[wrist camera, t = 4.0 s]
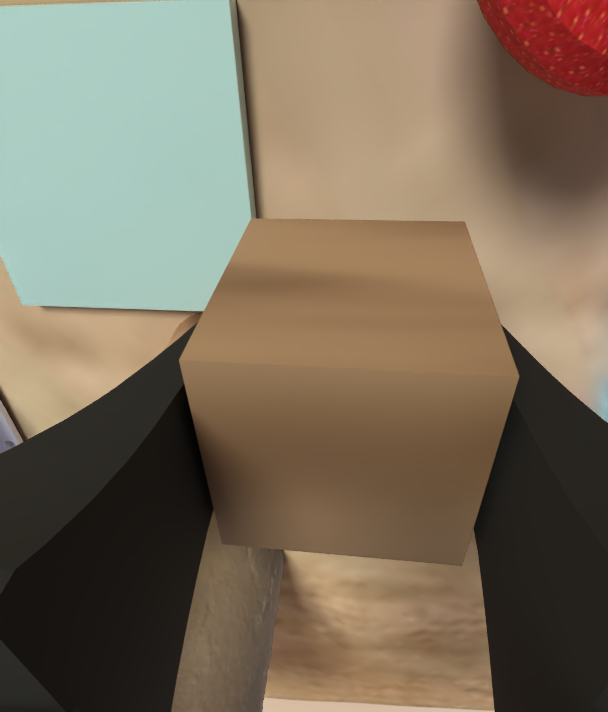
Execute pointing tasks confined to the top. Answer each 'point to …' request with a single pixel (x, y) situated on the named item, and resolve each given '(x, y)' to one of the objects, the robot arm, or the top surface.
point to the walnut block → (350, 388)
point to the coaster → (122, 152)
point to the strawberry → (555, 40)
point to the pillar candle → (229, 628)
